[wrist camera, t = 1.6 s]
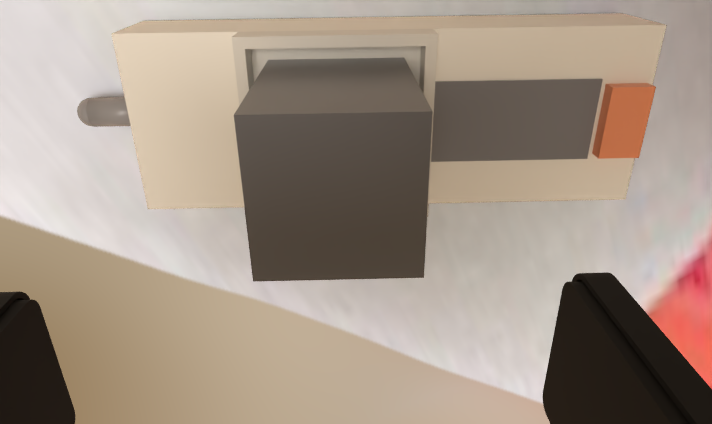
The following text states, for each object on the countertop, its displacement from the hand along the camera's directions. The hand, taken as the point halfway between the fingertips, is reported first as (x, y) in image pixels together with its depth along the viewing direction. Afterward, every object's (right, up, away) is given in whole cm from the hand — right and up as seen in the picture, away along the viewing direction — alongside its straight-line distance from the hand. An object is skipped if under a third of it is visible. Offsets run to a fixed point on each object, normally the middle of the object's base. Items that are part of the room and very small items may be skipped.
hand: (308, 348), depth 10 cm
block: (0, +6, +11) cm, 13 cm away
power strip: (+1, +8, +14) cm, 16 cm away
